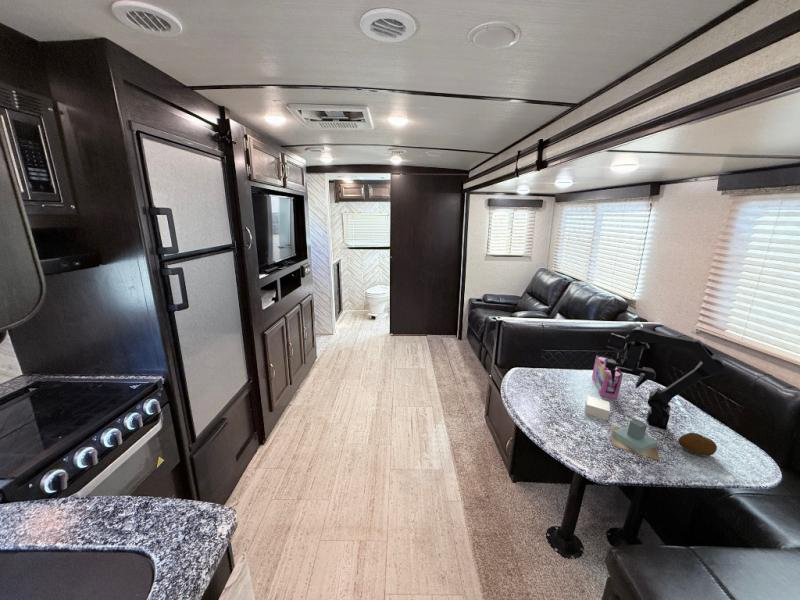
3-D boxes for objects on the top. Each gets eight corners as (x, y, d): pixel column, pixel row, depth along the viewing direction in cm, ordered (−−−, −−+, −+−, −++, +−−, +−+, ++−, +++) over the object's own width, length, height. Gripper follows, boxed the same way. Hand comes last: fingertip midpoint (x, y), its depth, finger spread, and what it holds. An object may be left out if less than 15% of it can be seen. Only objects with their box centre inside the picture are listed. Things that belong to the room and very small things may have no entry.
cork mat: (653, 439, 128) (654, 438, 128) (659, 461, 116) (660, 460, 116) (610, 425, 136) (610, 424, 136) (611, 445, 123) (612, 444, 123)
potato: (720, 461, 117) (726, 443, 116) (686, 459, 118) (692, 441, 116) (701, 446, 125) (707, 429, 123) (669, 444, 126) (674, 427, 124)
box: (607, 410, 147) (609, 401, 146) (607, 420, 140) (609, 411, 139) (585, 404, 152) (587, 395, 150) (584, 413, 144) (586, 404, 143)
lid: (628, 430, 132) (633, 412, 130) (656, 447, 123) (661, 428, 121) (612, 435, 128) (616, 417, 126) (639, 453, 119) (644, 434, 117)
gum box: (618, 400, 156) (624, 376, 153) (600, 397, 159) (606, 373, 155) (607, 379, 178) (612, 357, 174) (591, 376, 180) (596, 354, 177)
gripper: (654, 353, 143) (645, 383, 148) (607, 343, 151) (599, 372, 156) (660, 362, 134) (650, 394, 138) (609, 351, 142) (601, 381, 146)
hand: (624, 384), depth 145 cm, fingers open, 9 cm apart
